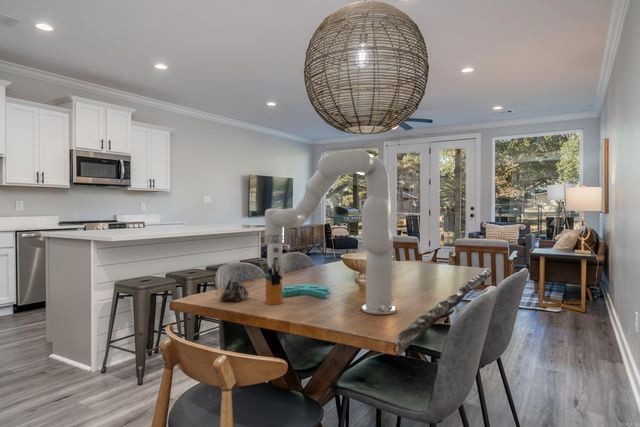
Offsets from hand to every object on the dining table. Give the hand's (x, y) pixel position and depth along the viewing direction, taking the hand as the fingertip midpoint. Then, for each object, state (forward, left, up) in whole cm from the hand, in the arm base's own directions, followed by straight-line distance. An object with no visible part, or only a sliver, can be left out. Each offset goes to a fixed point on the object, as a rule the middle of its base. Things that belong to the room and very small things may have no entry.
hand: (273, 282), depth 165 cm
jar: (0, 0, -8) cm, 8 cm away
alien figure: (+15, -17, -8) cm, 24 cm away
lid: (0, 0, +3) cm, 3 cm away
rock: (+9, +15, -8) cm, 19 cm away
